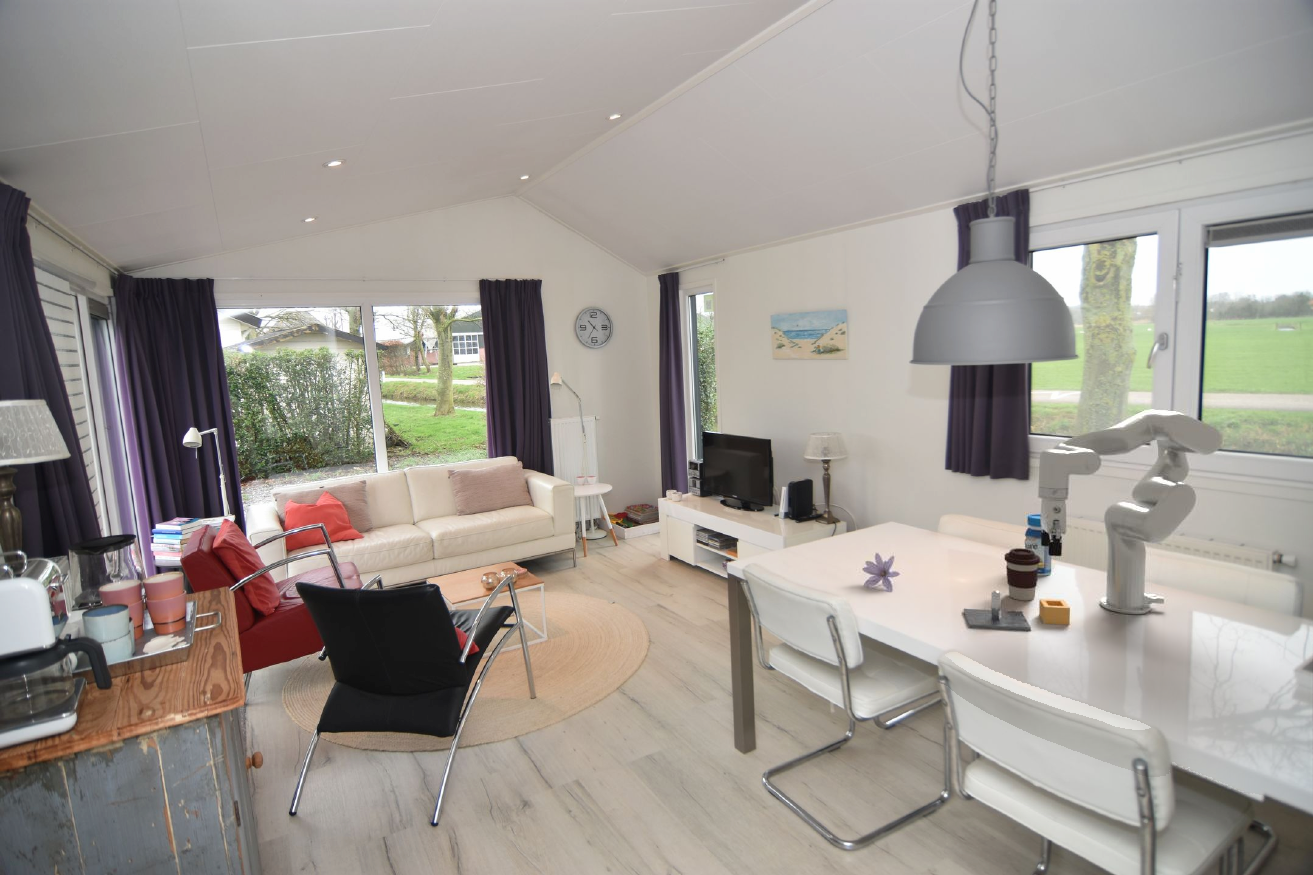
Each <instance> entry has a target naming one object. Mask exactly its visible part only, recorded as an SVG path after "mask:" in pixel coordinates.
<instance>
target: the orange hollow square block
mask: <svg viewBox="0 0 1313 875" xmlns="http://www.w3.org/2000/svg"><path fill="white" fill-rule="evenodd" d="M1038 611H1039V612H1038V613H1039V617H1040V619H1041V620H1042V621H1043V623H1044V624H1045V625H1047V624H1048V625H1063V626H1064V625H1067V626H1069V625H1071V624H1070V623H1071V622H1070V620H1071V615H1070V614H1071V608H1070V606H1069V605H1068V603H1067V602H1066V601H1065V599H1054V598H1053V599H1051V598H1049V599H1048V598H1039V610H1038Z"/></svg>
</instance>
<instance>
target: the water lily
mask: <svg viewBox="0 0 1313 875" xmlns="http://www.w3.org/2000/svg"><path fill="white" fill-rule="evenodd" d="M874 559H875V563H874V562H873V561H870V560H867V561H865V565H866V567H865V566H864V567H863V568H861V569H862V571H863V572H864V573H866V574H869V575H870V576H869V577H868V579H867V580H865V582H864V583H863V587H868V588H872V587H874V586H876V585H877V584H879V583H880V582H881V584H882V587H883V588H885V589H886V590H887V591H888V592H889V593H893V584H892V581H891V578H896V577H898V576H900V575H901V574H900V572H899V571H895V570H894V571H890V570H891V568H892V567H893V564H894V560H895V555H892V556H891V557H889V558H888V560H885V561H883V559H882V556H881V555H880V554H879V553H878V552H875V555H874Z"/></svg>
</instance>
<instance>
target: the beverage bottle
mask: <svg viewBox="0 0 1313 875" xmlns="http://www.w3.org/2000/svg"><path fill="white" fill-rule="evenodd" d="M1027 526H1028V528H1027V529H1026V531H1025V532H1024V533H1025V534H1024V536H1025V539H1024V549H1029V550H1032V551H1034V553H1035V554H1036V555H1038V556H1039V557H1040V563H1039V564H1038V566H1037V567H1038V575H1037V576H1038V577H1039V576H1040V577H1042V576H1043V577H1044V576H1049V575H1051V573H1052V558H1053V556H1049V554H1048V551H1049V546H1042V545H1041V533H1044V532H1042V526H1041V513H1040V514H1039V513H1033V514H1029V515H1028V516H1027Z"/></svg>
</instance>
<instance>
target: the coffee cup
mask: <svg viewBox="0 0 1313 875" xmlns="http://www.w3.org/2000/svg"><path fill="white" fill-rule="evenodd" d="M1004 561H1005V562H1006V567H1005V568H1006V579H1007V580H1006V583H1007V585H1008V595H1009V597H1010V598H1011V599H1014V600H1017V601H1023V602H1024V601H1026V602H1027V601H1032V600H1034V599H1035V597H1036V587H1037V583H1038V576H1039V575H1038V567H1037V566H1038V564H1039V563H1040V557H1039V556H1038V555H1036V554H1035V553H1034V551H1032V550H1029V549H1025V548H1017V547H1016V548H1012V549H1010V551H1009V552H1006V553H1004Z"/></svg>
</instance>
